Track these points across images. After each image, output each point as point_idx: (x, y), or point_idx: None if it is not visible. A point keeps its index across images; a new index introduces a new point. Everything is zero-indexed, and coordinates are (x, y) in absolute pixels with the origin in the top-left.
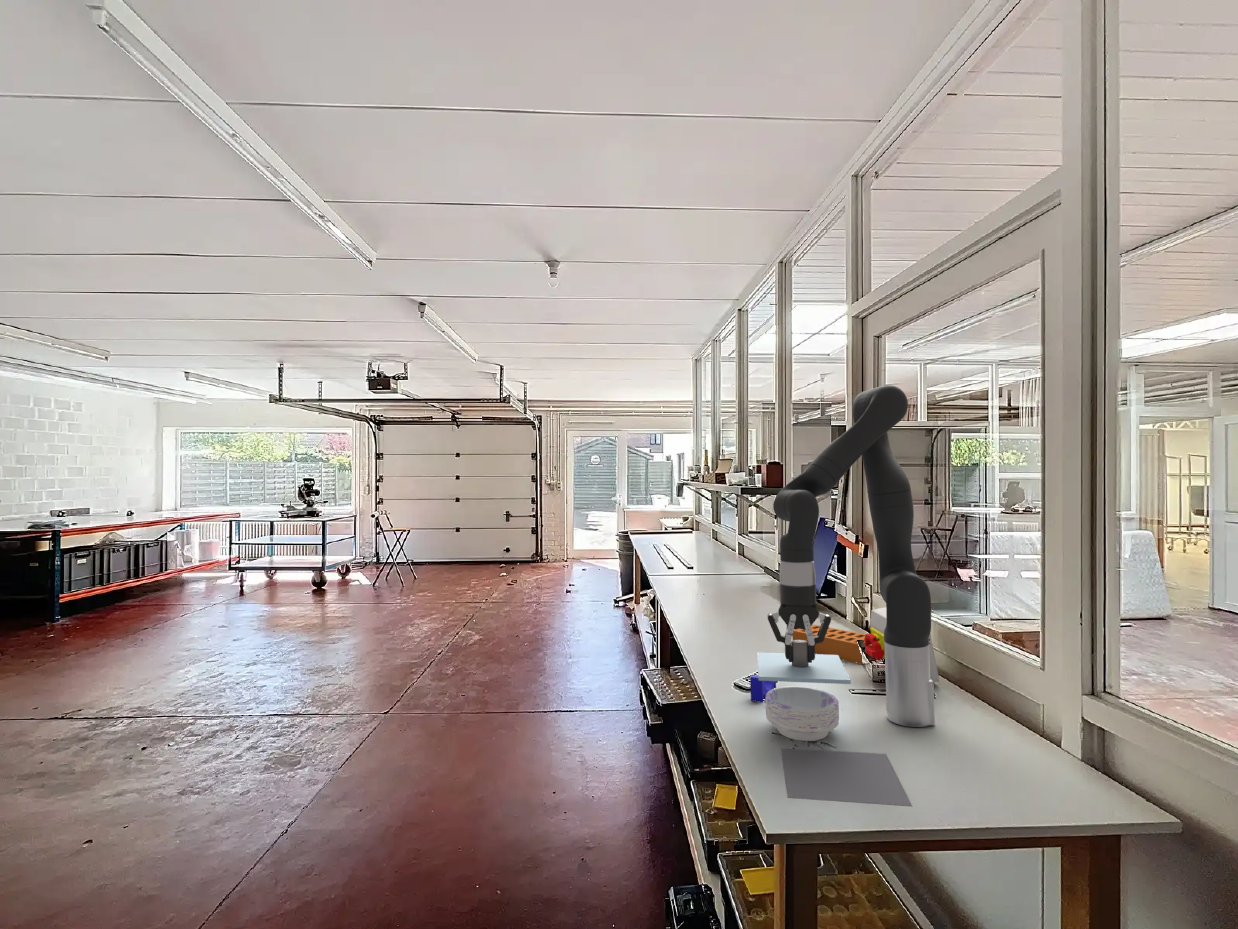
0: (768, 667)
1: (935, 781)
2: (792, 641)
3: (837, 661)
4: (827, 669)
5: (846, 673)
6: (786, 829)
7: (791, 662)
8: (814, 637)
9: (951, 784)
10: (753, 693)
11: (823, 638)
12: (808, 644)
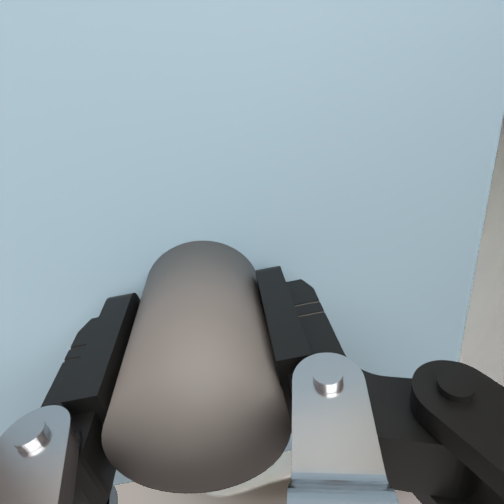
0: (23, 385)
1: (472, 325)
2: (117, 447)
3: (475, 119)
4: (369, 319)
5: (457, 347)
6: (229, 493)
7: (130, 249)
8: (387, 466)
9: (495, 326)
10: None
11: (483, 493)
12: (290, 398)
